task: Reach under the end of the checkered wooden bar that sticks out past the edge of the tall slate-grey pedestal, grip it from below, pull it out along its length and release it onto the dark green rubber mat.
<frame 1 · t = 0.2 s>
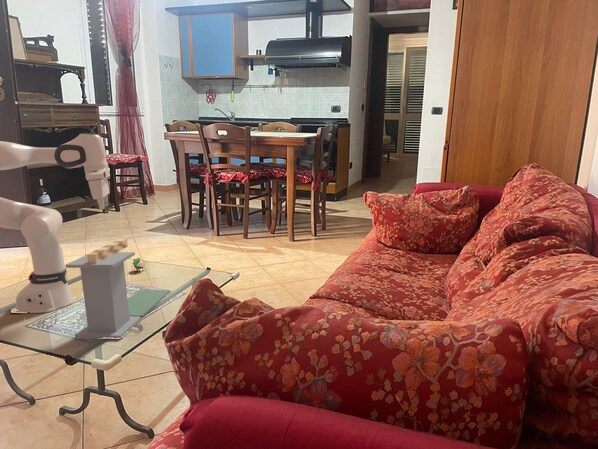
hand: (104, 207, 181), 39 cm above the table, tool pointing down, fingers open, 8 cm apart
mat: (140, 303, 182), on the table
checkered wooden bar: (109, 254, 157), point 26 cm above the table, touching pedestal
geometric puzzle: (139, 271, 227), on the table
pedestal: (110, 329, 157), on the table
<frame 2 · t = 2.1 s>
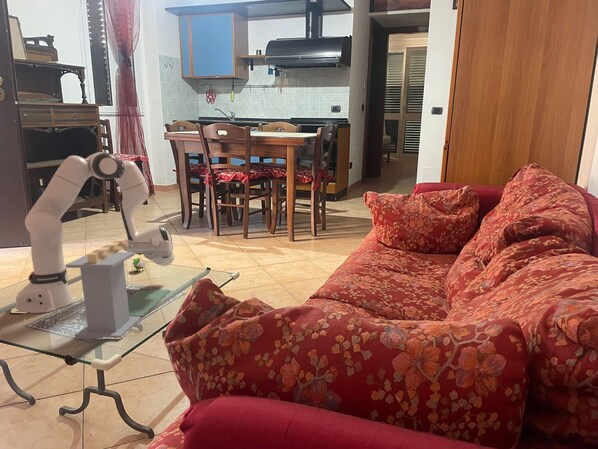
hand: (139, 241, 181), 25 cm above the table, tool pointing upward, fingers open, 8 cm apart
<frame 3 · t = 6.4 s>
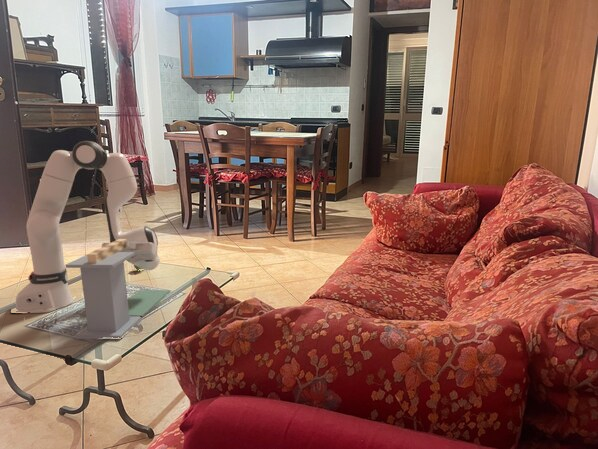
hand: (119, 243, 165), 28 cm above the table, tool pointing upward, fingers closed on checkered wooden bar, 3 cm apart
checkered wooden bar: (109, 254, 157), point 26 cm above the table, touching gripper, pedestal
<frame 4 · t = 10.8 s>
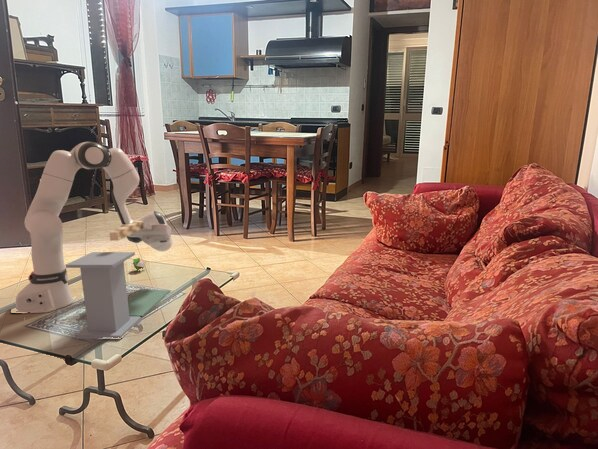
hand: (137, 224, 179), 32 cm above the table, tool pointing upward, fingers closed on checkered wooden bar, 3 cm apart
checkered wooden bar: (128, 233, 171), point 30 cm above the table, touching gripper
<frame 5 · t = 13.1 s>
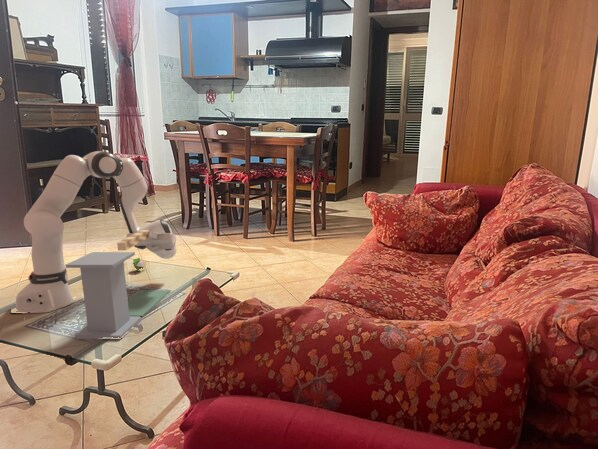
hand: (143, 233, 184), 27 cm above the table, tool pointing upward, fingers closed on checkered wooden bar, 3 cm apart
checkered wooden bar: (135, 243, 177), point 25 cm above the table, touching gripper
when the fingers open (19 cm above the table, at t = 14.8 s): checkered wooden bar drops 16 cm, resting on mat.
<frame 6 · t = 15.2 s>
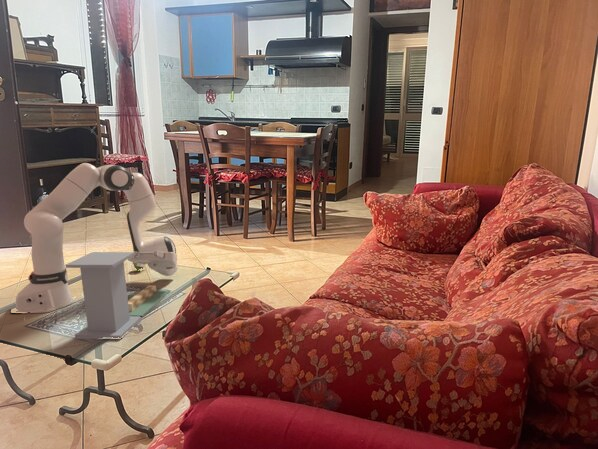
hand: (145, 253, 186), 19 cm above the table, tool pointing upward, fingers open, 8 cm apart
checkered wooden bar: (141, 301, 182), point 1 cm above the table, touching mat
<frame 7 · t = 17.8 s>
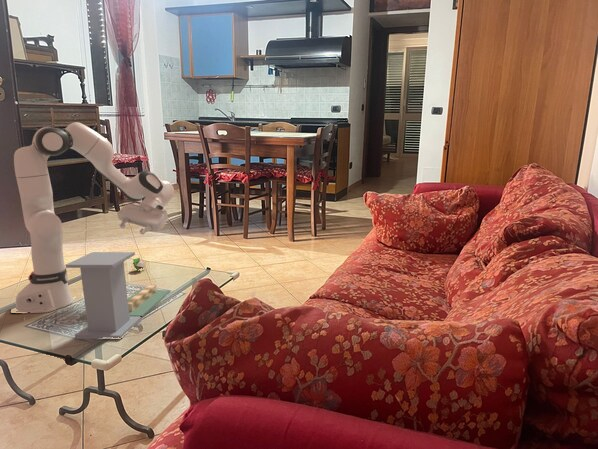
hand: (131, 230, 184), 29 cm above the table, tool tilted 60°, fingers open, 8 cm apart
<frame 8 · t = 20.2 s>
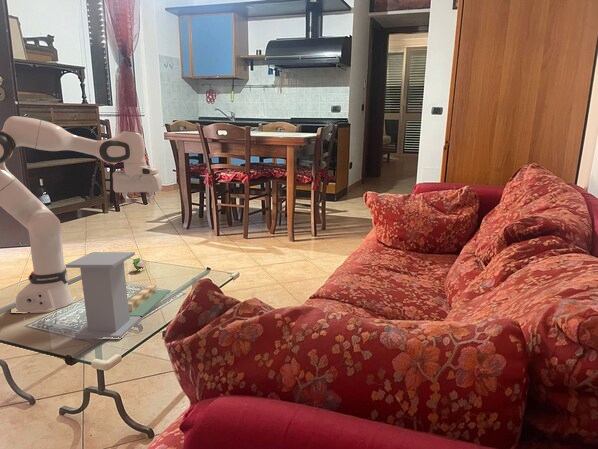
hand: (138, 202, 190), 39 cm above the table, tool pointing down, fingers open, 8 cm apart
at the end: checkered wooden bar touching mat; the gripper is holding nothing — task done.
